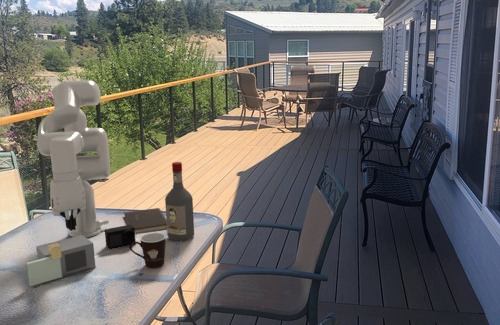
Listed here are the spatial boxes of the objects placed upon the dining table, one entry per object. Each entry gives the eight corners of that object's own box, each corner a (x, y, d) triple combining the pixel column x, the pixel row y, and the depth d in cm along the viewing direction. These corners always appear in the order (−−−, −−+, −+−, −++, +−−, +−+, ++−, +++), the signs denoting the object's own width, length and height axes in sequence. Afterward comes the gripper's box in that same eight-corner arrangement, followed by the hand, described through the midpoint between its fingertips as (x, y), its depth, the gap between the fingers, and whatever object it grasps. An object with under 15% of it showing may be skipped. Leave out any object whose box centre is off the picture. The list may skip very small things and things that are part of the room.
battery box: (84, 258, 190) (82, 234, 188) (97, 269, 181) (95, 244, 179) (23, 275, 177) (20, 250, 175) (34, 287, 168) (31, 261, 166)
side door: (60, 275, 175) (57, 242, 172) (64, 278, 172) (60, 245, 170) (29, 284, 169) (25, 250, 166) (32, 288, 166) (27, 253, 164)
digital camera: (109, 251, 196) (107, 233, 194) (105, 246, 201) (104, 229, 199) (136, 245, 201) (135, 228, 199) (132, 241, 205) (131, 224, 204)
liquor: (178, 231, 214) (174, 159, 207) (197, 235, 210) (193, 161, 203) (164, 239, 206) (159, 164, 199) (183, 243, 202) (179, 166, 195)
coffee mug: (171, 261, 186) (170, 234, 184) (159, 271, 178) (158, 243, 176) (142, 257, 190) (140, 231, 188) (129, 267, 182) (127, 239, 180)
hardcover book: (131, 235, 213) (130, 229, 213) (124, 217, 234) (123, 212, 234) (170, 229, 218) (170, 224, 218) (160, 212, 239) (159, 207, 239)
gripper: (84, 168, 175) (89, 220, 180) (37, 177, 167) (44, 231, 172) (92, 173, 170) (98, 226, 175) (45, 182, 161) (52, 238, 166)
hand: (71, 229), depth 173 cm, fingers closed
